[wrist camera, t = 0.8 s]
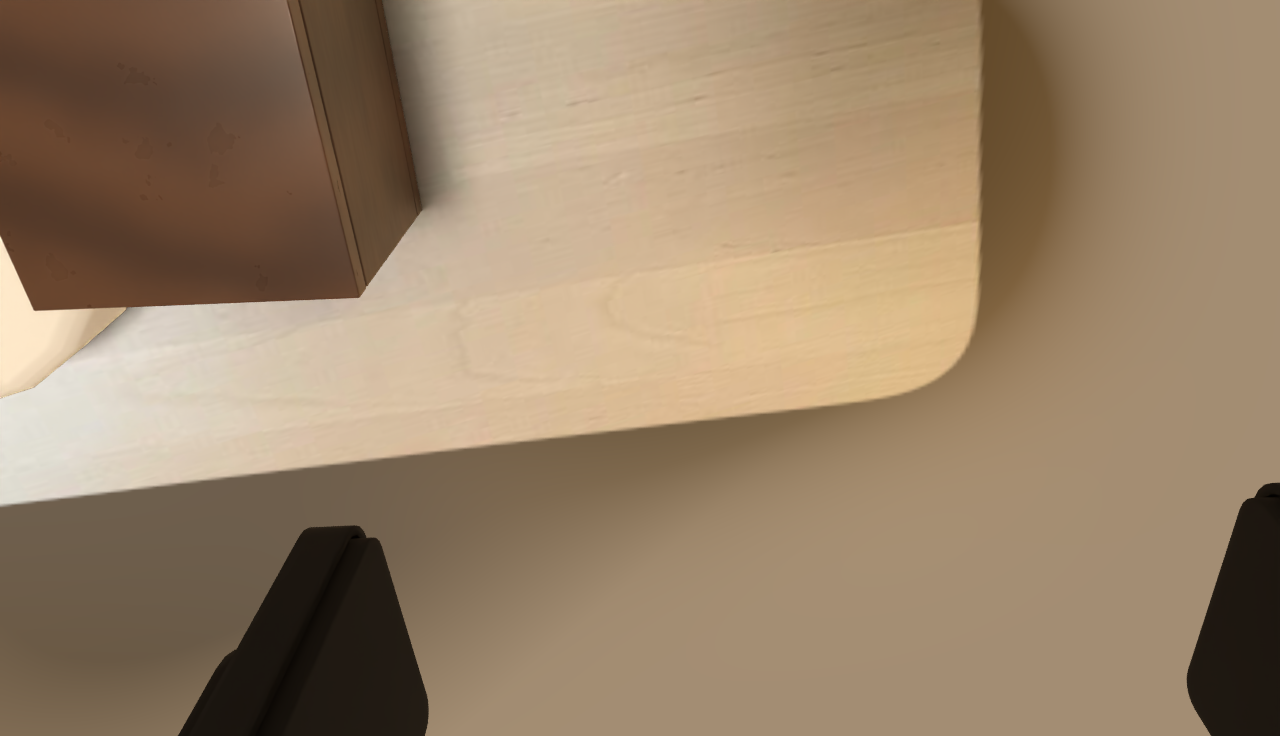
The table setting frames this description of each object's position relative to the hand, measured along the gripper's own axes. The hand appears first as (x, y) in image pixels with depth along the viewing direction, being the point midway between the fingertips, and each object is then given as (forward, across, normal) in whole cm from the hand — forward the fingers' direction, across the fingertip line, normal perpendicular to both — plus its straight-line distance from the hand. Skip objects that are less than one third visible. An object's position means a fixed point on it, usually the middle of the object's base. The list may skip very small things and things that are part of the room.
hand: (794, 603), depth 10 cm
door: (+20, +18, -3) cm, 27 cm away
